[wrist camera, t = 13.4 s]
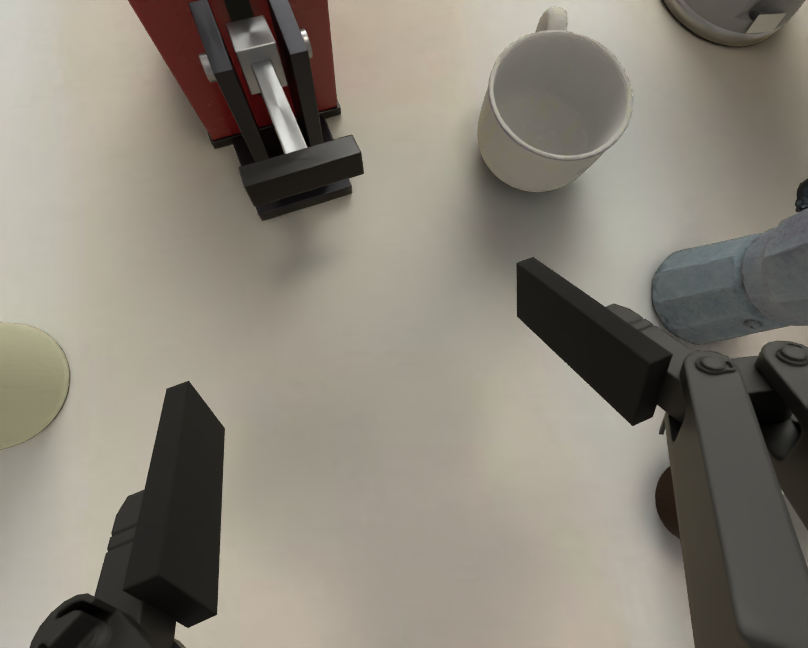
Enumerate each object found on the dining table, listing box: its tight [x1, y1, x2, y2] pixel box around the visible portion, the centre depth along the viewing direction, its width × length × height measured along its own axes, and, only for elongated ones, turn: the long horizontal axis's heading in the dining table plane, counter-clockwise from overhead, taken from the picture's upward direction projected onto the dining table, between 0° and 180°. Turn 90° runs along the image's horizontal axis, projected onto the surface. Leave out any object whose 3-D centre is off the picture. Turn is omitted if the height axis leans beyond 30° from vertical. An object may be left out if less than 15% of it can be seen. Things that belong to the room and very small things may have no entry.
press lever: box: [225, 15, 364, 207], centre depth 21 cm, size 12×6×2 cm, turn 20°
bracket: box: [188, 0, 352, 221], centre depth 27 cm, size 7×8×14 cm
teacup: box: [478, 7, 633, 192], centre depth 33 cm, size 14×11×8 cm
